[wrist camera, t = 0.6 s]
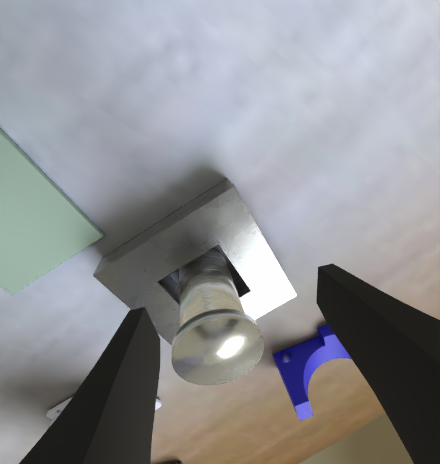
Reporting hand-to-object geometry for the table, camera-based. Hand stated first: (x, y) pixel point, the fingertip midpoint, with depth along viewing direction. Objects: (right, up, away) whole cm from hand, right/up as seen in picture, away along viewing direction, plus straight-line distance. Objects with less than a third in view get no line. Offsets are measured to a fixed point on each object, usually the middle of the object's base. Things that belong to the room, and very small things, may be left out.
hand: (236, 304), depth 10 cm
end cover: (-2, 0, +12) cm, 12 cm away
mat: (-16, +4, +7) cm, 18 cm away
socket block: (-2, 0, +12) cm, 12 cm away
